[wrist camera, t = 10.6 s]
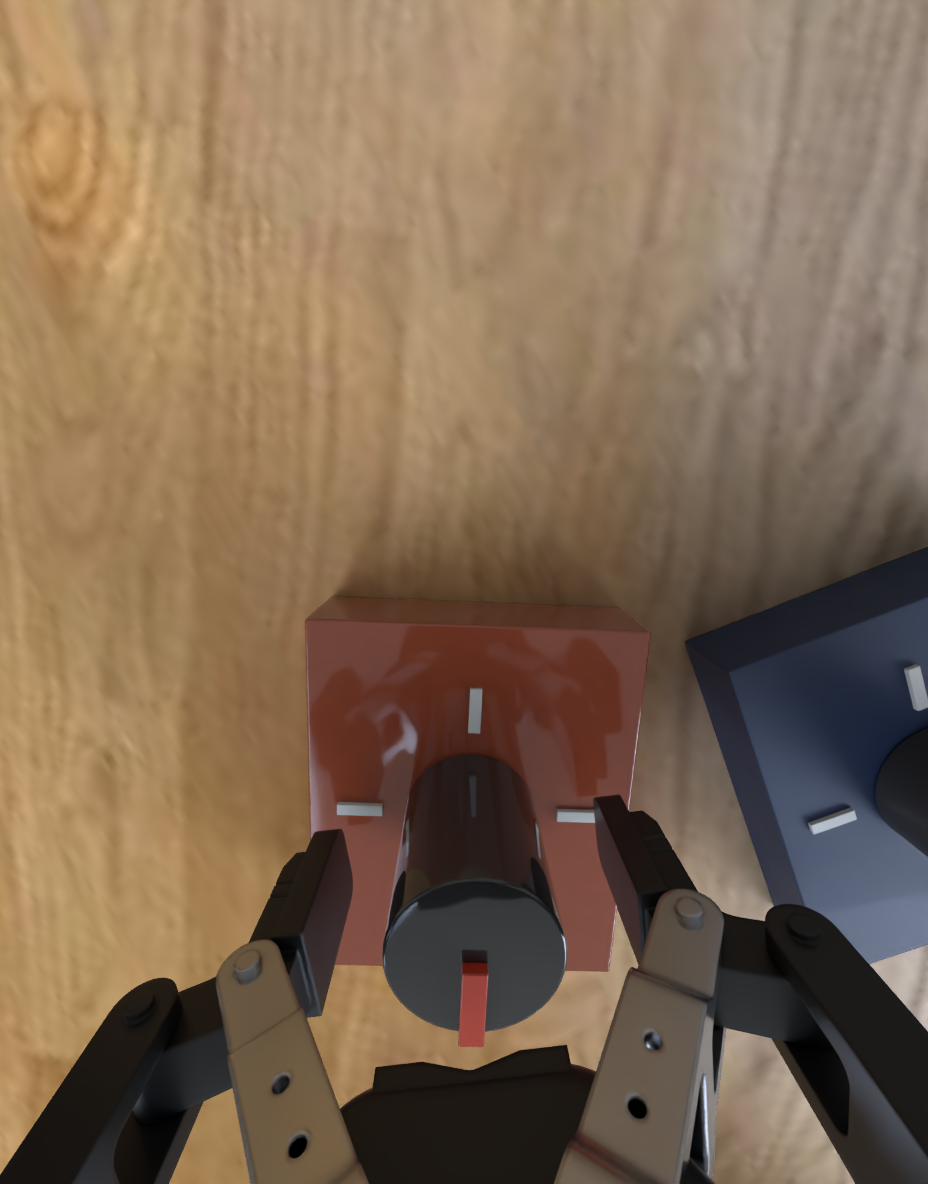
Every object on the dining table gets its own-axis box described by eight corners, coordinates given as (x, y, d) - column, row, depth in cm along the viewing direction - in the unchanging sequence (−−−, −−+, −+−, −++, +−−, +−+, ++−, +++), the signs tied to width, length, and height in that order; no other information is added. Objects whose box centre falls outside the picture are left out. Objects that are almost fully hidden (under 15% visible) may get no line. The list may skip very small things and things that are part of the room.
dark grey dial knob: (406, 751, 15) (379, 888, 10) (538, 755, 15) (579, 893, 10) (404, 865, 16) (378, 1047, 11) (529, 869, 16) (563, 1051, 11)
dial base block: (330, 595, 17) (302, 620, 14) (620, 607, 18) (654, 633, 14) (334, 894, 20) (311, 969, 17) (587, 901, 20) (611, 977, 17)
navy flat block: (683, 641, 18) (731, 674, 15) (966, 531, 17) (1077, 541, 14) (773, 907, 20) (830, 983, 17) (1025, 820, 19) (1132, 883, 16)
